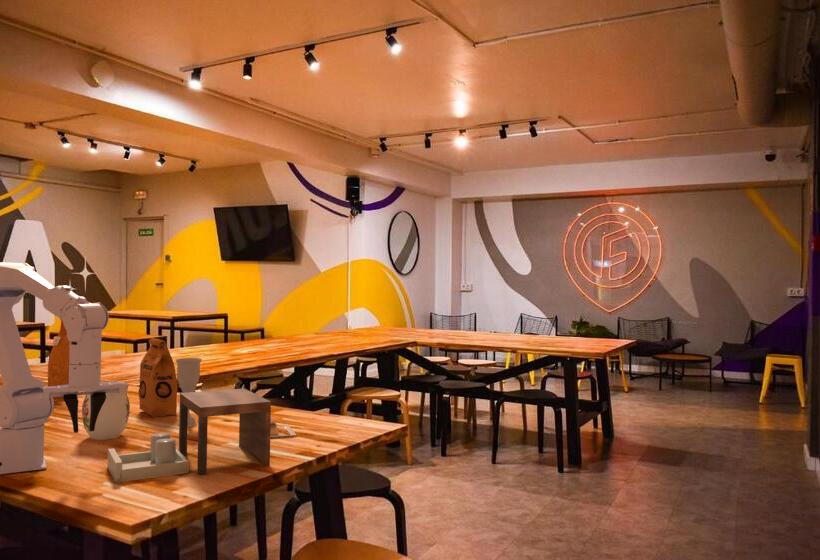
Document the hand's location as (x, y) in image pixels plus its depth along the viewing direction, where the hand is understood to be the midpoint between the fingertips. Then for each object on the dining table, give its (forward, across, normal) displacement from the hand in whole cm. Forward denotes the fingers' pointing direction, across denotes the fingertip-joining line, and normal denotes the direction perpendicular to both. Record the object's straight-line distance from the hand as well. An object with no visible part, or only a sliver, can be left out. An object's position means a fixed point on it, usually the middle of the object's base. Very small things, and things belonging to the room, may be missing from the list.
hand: (83, 431), depth 130 cm
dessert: (+10, +46, +19) cm, 51 cm away
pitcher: (+10, +8, +36) cm, 38 cm away
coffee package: (+10, +25, +58) cm, 64 cm away
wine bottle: (+10, +3, +104) cm, 105 cm away
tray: (+10, +12, 0) cm, 16 cm away
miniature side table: (+9, +28, 0) cm, 30 cm away
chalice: (+10, +29, +38) cm, 49 cm away
